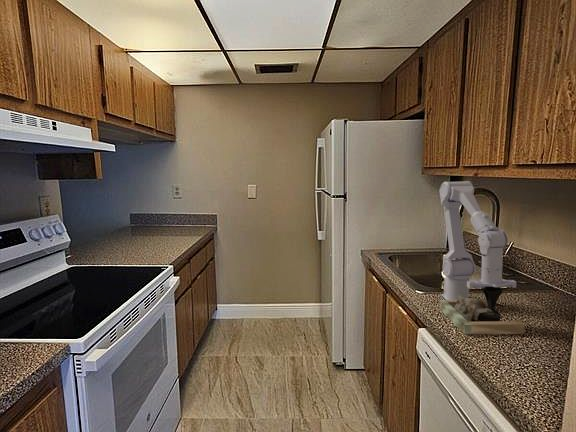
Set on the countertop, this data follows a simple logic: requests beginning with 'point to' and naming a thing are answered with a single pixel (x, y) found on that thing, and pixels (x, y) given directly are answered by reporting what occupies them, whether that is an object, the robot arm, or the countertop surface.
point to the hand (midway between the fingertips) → (490, 309)
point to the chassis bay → (479, 327)
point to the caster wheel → (476, 310)
